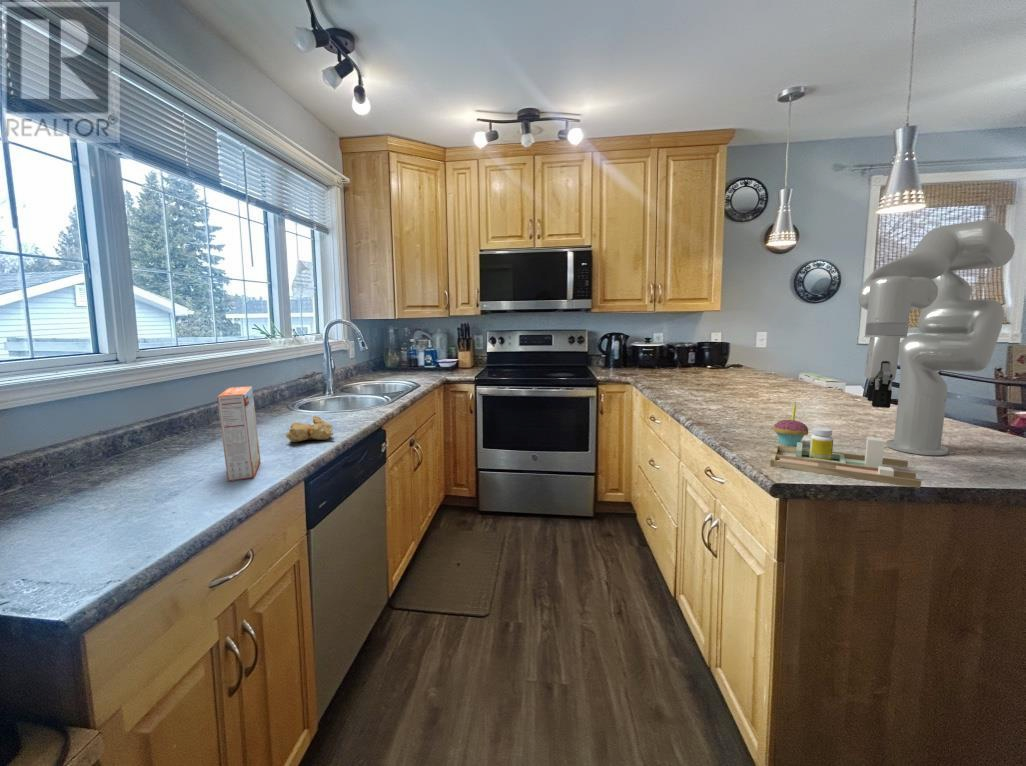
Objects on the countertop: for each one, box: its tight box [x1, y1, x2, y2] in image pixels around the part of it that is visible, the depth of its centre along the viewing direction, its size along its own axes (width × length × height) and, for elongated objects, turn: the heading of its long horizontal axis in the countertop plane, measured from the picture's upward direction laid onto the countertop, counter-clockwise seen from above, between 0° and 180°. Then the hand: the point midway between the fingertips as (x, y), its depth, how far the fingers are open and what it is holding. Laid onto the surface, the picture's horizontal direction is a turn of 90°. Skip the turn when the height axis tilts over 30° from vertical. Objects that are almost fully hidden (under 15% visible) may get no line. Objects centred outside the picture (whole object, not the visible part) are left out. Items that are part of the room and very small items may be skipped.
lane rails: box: [769, 444, 922, 489], centre depth 109 cm, size 16×28×2 cm, turn 56°
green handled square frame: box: [795, 436, 886, 468], centre depth 111 cm, size 9×17×7 cm, turn 56°
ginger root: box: [285, 415, 334, 443], centre depth 142 cm, size 16×16×8 cm
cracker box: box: [216, 386, 261, 482], centre depth 111 cm, size 14×6×21 cm, turn 23°
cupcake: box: [773, 402, 809, 447], centre depth 128 cm, size 9×8×12 cm
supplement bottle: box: [808, 426, 834, 461], centre depth 113 cm, size 5×5×8 cm
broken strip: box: [780, 458, 895, 476], centre depth 105 cm, size 4×22×2 cm, turn 56°
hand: (878, 404), depth 105 cm, fingers open, 9 cm apart
